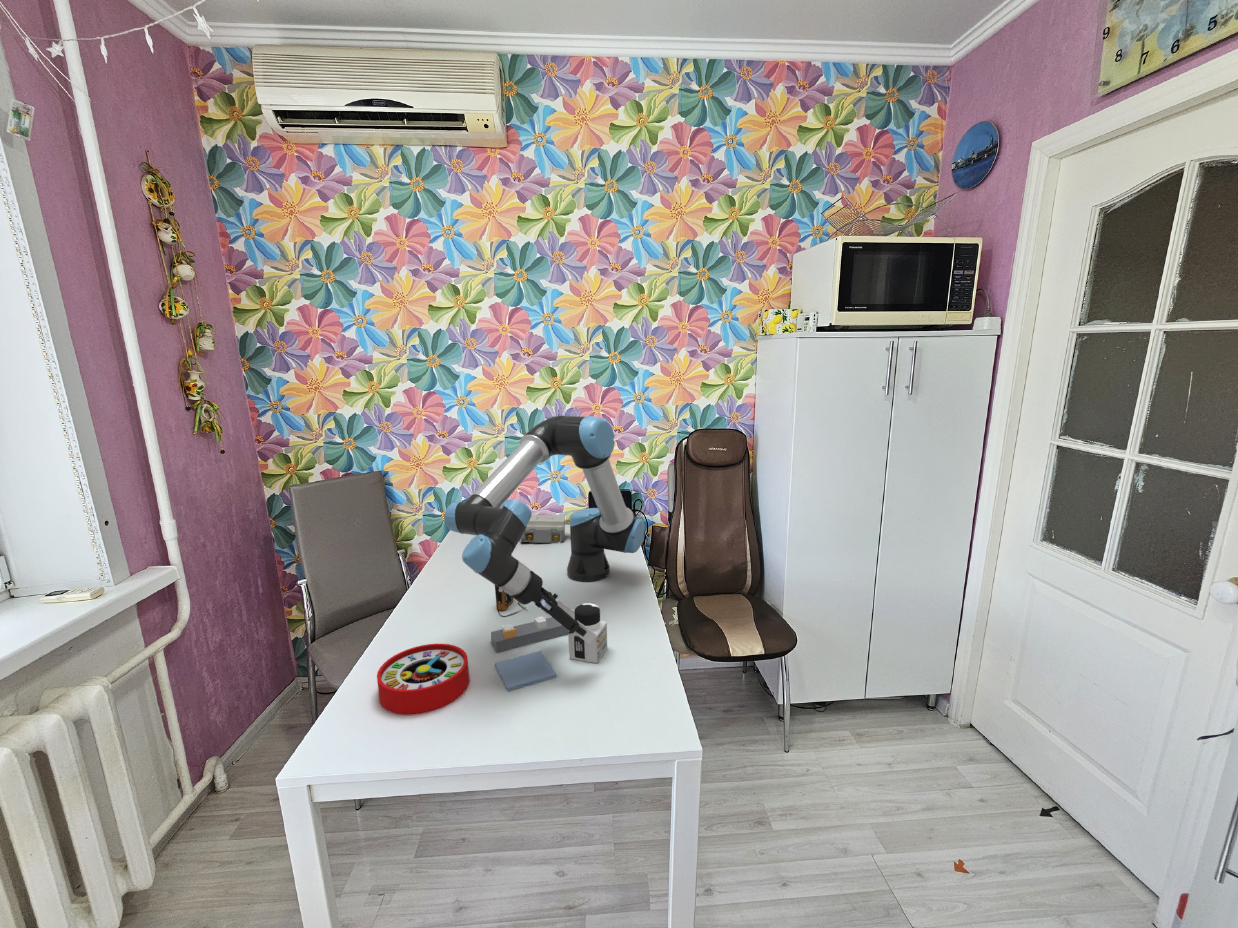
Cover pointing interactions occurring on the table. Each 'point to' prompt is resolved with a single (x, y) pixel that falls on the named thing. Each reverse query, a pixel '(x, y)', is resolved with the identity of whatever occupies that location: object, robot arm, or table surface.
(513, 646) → the breaker panel
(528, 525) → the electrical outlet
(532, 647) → the table surface
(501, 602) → the multimeter
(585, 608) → the container
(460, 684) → the toy clock
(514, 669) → the pad
